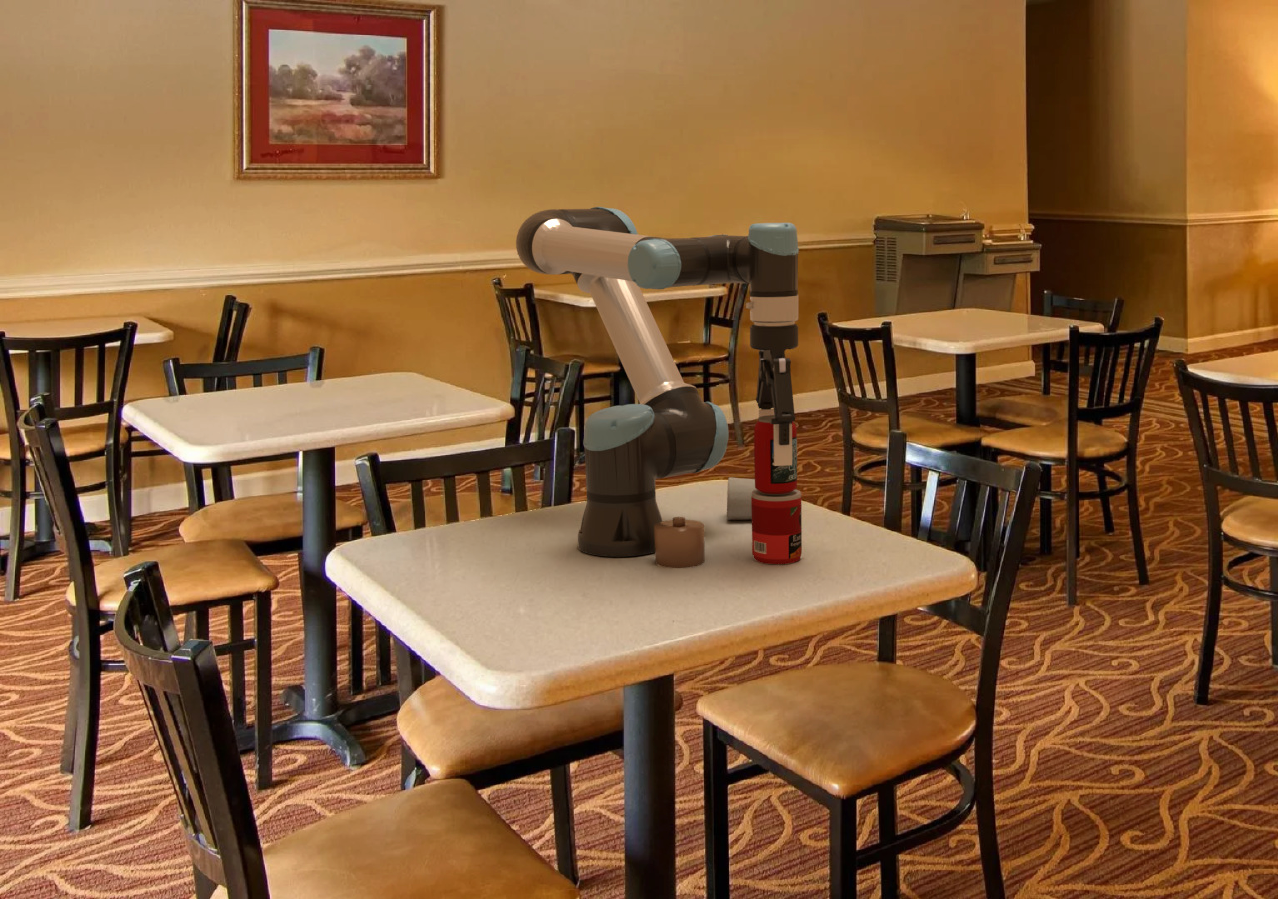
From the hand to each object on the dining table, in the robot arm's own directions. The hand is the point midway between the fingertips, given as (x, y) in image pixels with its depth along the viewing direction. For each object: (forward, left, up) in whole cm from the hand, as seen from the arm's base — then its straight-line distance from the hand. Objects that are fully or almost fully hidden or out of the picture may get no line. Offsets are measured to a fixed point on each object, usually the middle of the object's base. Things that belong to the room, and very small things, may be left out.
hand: (775, 456), depth 209 cm
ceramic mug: (-20, +20, -17) cm, 33 cm away
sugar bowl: (-12, -10, -17) cm, 23 cm away
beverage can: (0, 0, -6) cm, 6 cm away
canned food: (0, 0, -17) cm, 17 cm away
